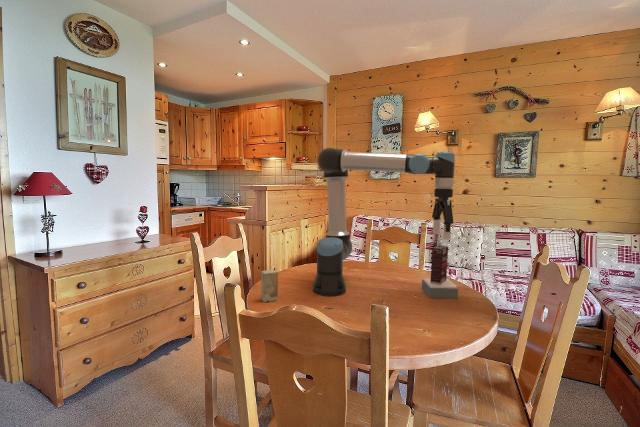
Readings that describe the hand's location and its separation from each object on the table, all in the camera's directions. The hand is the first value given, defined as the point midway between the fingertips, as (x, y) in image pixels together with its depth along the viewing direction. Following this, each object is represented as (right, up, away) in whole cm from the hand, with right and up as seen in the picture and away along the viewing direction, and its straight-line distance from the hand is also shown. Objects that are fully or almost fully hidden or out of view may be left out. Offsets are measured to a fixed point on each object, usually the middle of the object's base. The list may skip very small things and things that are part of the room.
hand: (441, 236), depth 142 cm
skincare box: (-74, -26, -6) cm, 79 cm away
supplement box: (0, -21, +3) cm, 21 cm away
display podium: (0, -26, +3) cm, 26 cm away
